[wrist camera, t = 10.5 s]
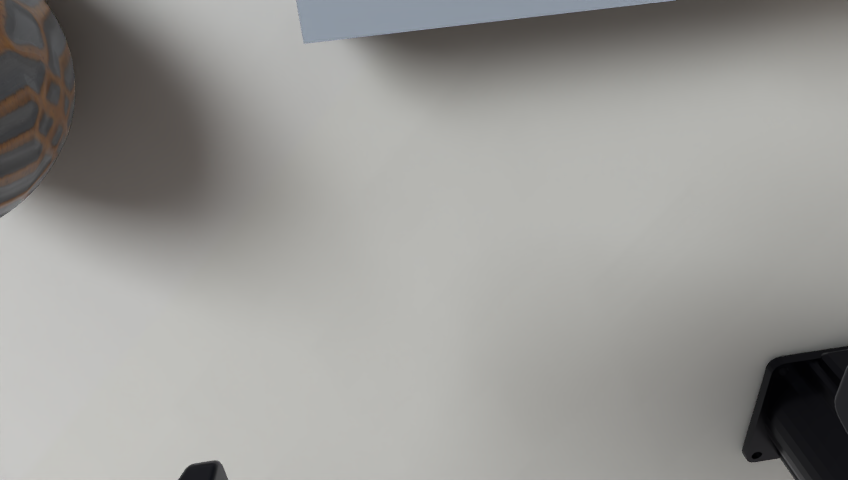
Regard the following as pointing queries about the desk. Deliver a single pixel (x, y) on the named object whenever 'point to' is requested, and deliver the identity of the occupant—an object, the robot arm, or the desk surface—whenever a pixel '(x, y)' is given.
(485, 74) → the desk surface
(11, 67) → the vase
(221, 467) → the robot arm
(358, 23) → the socket block
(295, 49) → the desk surface
